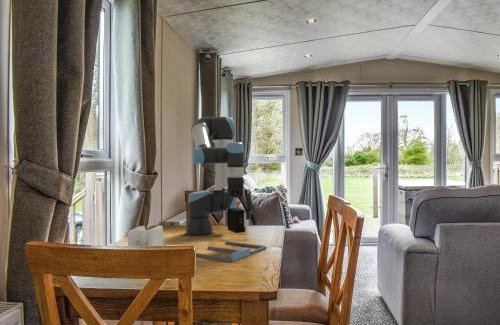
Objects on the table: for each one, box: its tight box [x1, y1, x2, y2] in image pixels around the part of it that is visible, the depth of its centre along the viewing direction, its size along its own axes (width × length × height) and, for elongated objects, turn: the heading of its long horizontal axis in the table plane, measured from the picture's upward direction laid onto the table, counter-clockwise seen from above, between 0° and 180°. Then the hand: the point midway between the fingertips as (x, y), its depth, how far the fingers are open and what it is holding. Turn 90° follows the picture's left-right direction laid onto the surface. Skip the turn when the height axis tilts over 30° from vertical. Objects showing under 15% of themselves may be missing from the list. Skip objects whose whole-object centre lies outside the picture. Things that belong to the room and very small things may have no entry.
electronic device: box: [227, 207, 246, 234], centre depth 174 cm, size 4×10×10 cm, turn 27°
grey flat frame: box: [195, 240, 267, 263], centre depth 168 cm, size 27×23×3 cm
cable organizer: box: [126, 225, 164, 247], centre depth 165 cm, size 15×11×12 cm
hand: (236, 225), depth 174 cm, fingers closed on electronic device, 11 cm apart
